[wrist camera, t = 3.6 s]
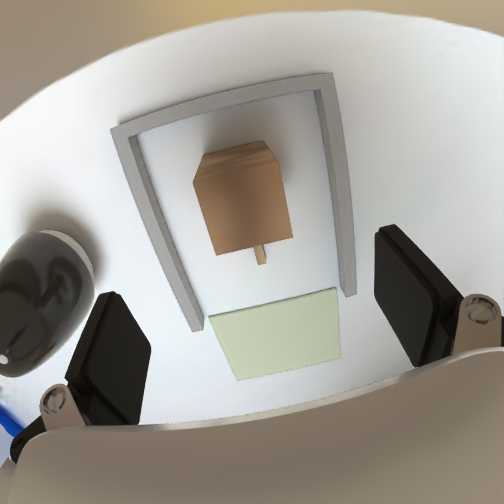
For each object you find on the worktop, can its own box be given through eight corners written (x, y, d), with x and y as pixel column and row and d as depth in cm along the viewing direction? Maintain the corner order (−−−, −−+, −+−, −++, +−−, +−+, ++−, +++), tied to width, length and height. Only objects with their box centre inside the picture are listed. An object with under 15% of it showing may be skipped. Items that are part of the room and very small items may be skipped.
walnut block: (262, 140, 24) (278, 161, 17) (286, 253, 29) (305, 307, 22) (203, 155, 24) (192, 182, 17) (235, 265, 29) (239, 322, 22)
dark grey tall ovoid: (81, 201, 25) (-14, 302, 12) (121, 290, 30) (76, 413, 17) (13, 227, 25) (-71, 316, 12) (53, 303, 30) (0, 403, 17)
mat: (335, 287, 32) (336, 288, 31) (339, 356, 38) (340, 357, 37) (208, 316, 32) (208, 318, 32) (236, 379, 38) (236, 381, 38)
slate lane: (324, 73, 21) (332, 72, 19) (350, 283, 32) (356, 294, 30) (118, 125, 22) (109, 129, 20) (193, 319, 32) (192, 332, 31)
